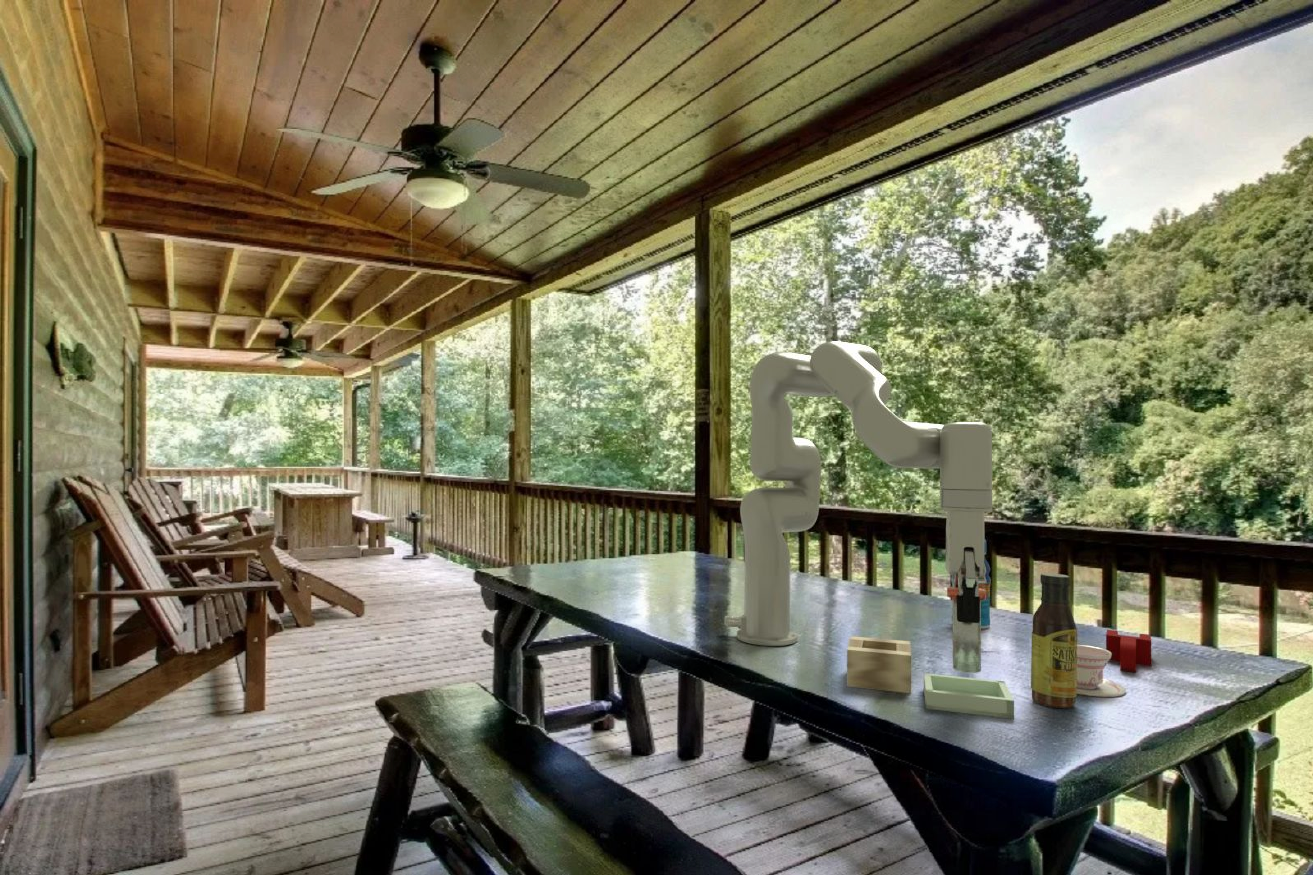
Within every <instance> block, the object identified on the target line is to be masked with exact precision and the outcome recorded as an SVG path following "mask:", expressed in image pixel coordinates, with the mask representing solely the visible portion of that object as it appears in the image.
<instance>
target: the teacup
mask: <svg viewBox="0 0 1313 875" xmlns="http://www.w3.org/2000/svg"><path fill="white" fill-rule="evenodd" d="M1111 655H1112V653H1111V652H1110V651H1108V650H1106V648H1101V647H1098V646H1092V645H1084V644H1077V695H1082V696H1087V697H1088V696H1089V697H1099V698H1109V697H1110V698H1111V697H1112V698H1116V697H1121V696H1124V695H1125V694H1126V693H1127V689H1126V688H1125V686H1123V685H1122V684H1120V683H1118V682H1115V681H1113V680H1110V679H1106V678H1104V669H1105V668H1106V666H1107V662H1109V660H1110V659H1111ZM1097 687H1098V688H1099V689H1097Z"/></svg>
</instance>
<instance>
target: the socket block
mask: <svg viewBox="0 0 1313 875" xmlns="http://www.w3.org/2000/svg"><path fill="white" fill-rule="evenodd" d="M846 686H847V687H851V688H860V689H868V690H878V691H887V692H894V693H895V692H897V693H906V694H912V649H911V641H909V640H899V639H898V640H897V639H886V638H874V637H863V636H850V638H849V641H848V645H847V649H846Z"/></svg>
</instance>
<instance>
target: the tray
mask: <svg viewBox="0 0 1313 875" xmlns="http://www.w3.org/2000/svg"><path fill="white" fill-rule="evenodd" d="M923 694H924V702H925V709H927V710H933V711H943V712H951V713H960V714H969V715H979V716H985V717H986V716H987V717H996V718H1003V719H1012V720H1013V719H1015V700H1014V698H1013V695H1012V694H1011V692H1010V689H1009V688H1008V686H1007V684H1006V681H1004V680H995V679H985V678H975V677H974V678H973V677H966V676H965V677H963V676H954V675H945V674H935V673H923Z"/></svg>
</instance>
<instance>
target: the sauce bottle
mask: <svg viewBox="0 0 1313 875" xmlns="http://www.w3.org/2000/svg"><path fill="white" fill-rule="evenodd" d="M1039 578H1040V581H1039V582H1040V584H1041V597H1040V602H1041V603H1040V604H1039V606H1038V608H1037V609H1036V611H1035V612H1034V614H1033V617H1032V631H1031V648H1030V649H1031V655H1030V656H1031V657H1030V659H1031V660H1030V664H1031V665H1030V689H1031V699H1032V700H1033V701H1034V702H1035V703H1036V704H1039V705H1043V706H1045V707H1053V708H1059V709H1069V708H1072V707H1074V706H1075V703H1076V699H1077V696H1078V694H1077V689H1078V688H1077V645H1078V628H1077V625H1076V623H1075V622H1076V621H1075V619H1074V617H1073V614H1072V613H1073V612H1072V611H1071V608H1070V605H1069V604H1070V600H1069V589H1070V585H1071V578H1070V576H1069V575H1066V574H1060V573H1059V574H1058V573H1047V572H1046V573H1040V577H1039Z"/></svg>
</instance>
